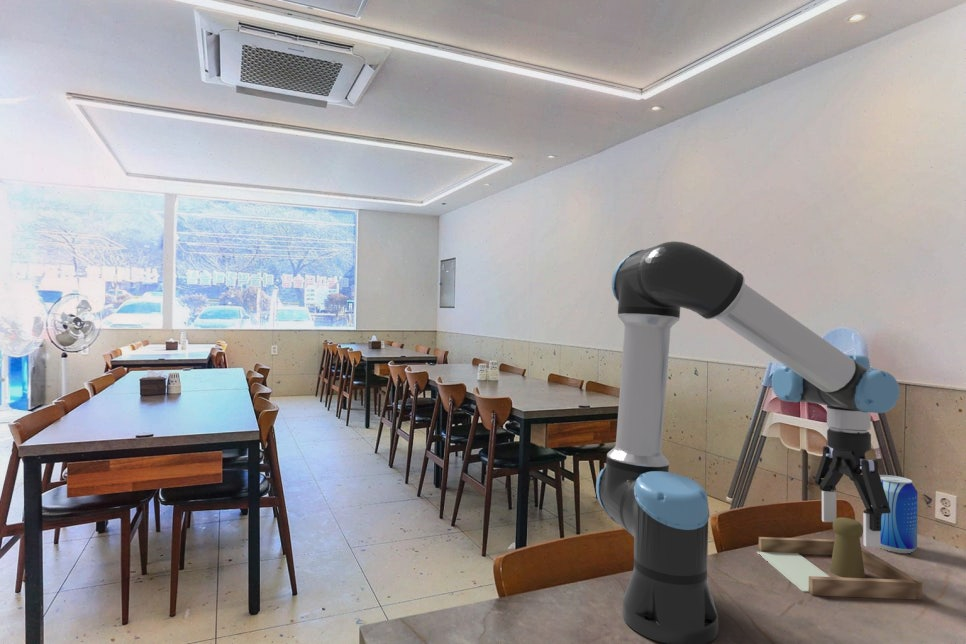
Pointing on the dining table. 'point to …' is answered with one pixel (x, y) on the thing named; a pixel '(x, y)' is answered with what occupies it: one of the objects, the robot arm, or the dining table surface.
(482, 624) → the dining table surface
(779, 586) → the dining table surface
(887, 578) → the bay
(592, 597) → the dining table surface
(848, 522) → the olive chess pawn
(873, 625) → the dining table surface
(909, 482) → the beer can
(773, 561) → the front pad
